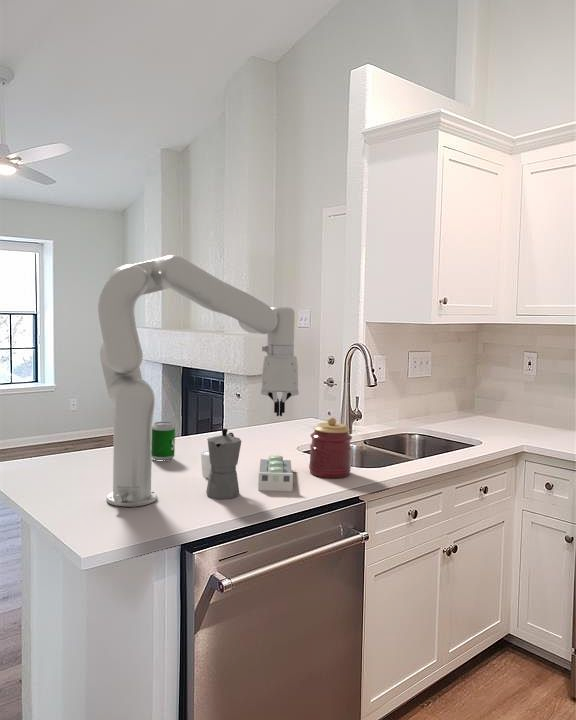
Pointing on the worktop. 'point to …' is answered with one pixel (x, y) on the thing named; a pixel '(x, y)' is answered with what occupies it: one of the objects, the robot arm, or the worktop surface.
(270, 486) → the button board
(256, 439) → the worktop surface
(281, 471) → the button near
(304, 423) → the worktop surface
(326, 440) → the canister
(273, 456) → the button far
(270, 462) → the button middle
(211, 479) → the coffeepot
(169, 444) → the soda can
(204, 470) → the white cup
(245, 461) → the worktop surface
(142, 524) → the worktop surface
